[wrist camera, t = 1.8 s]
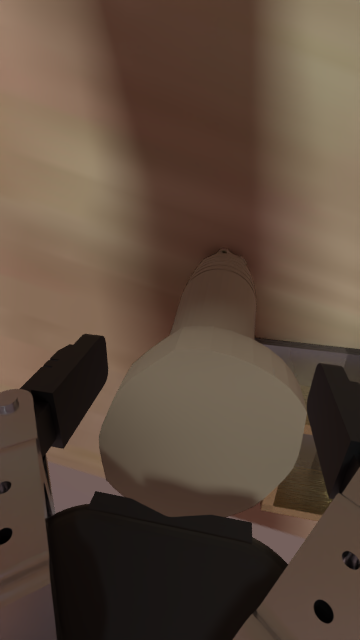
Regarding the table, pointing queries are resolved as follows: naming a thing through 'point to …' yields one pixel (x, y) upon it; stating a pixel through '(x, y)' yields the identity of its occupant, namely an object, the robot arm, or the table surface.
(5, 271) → the table surface
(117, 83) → the table surface
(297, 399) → the handle
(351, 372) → the square socket base
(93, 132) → the table surface
